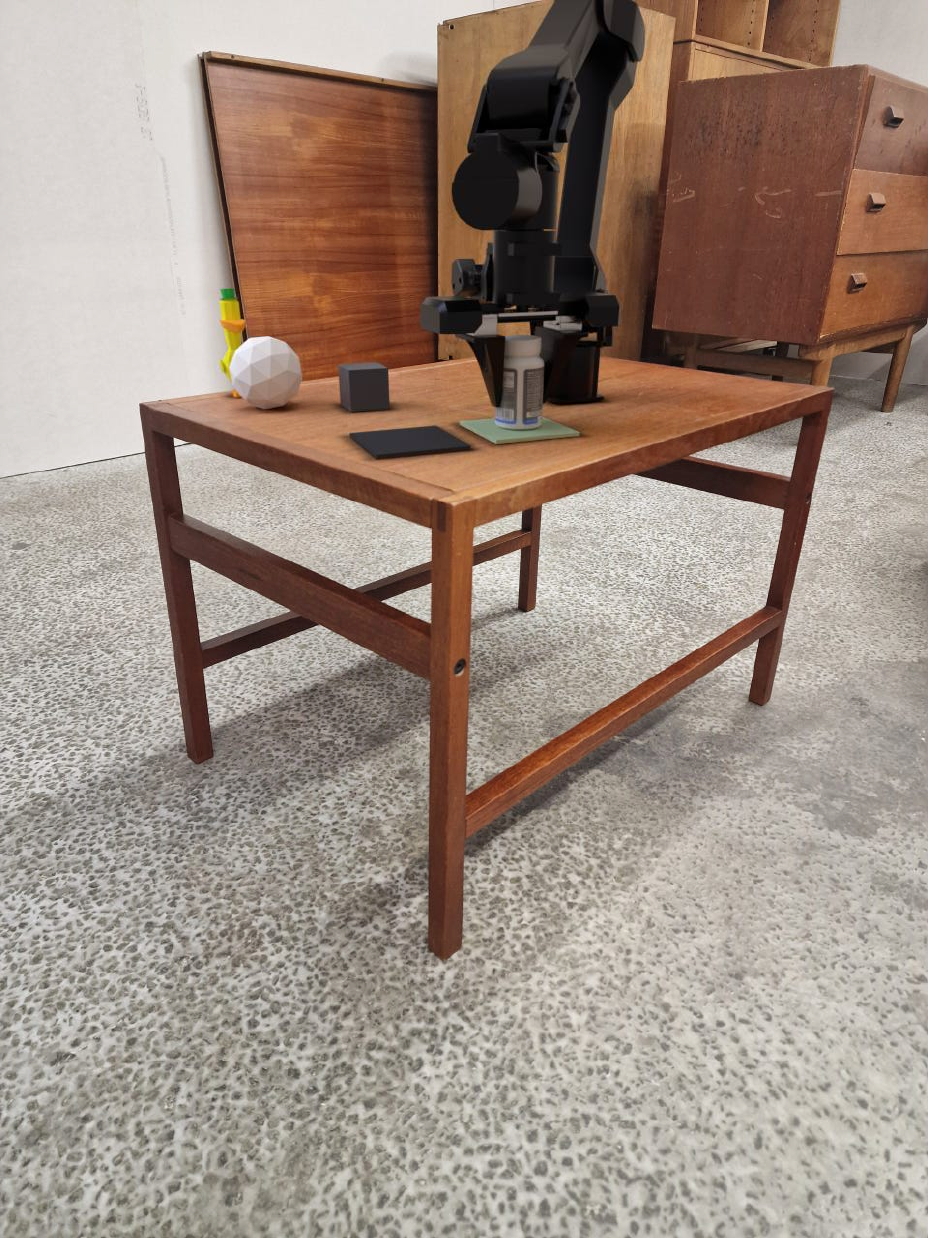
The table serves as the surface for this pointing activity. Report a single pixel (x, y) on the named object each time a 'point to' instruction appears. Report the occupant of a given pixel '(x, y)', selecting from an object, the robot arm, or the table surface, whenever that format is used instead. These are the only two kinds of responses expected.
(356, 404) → the slate block
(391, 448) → the charcoal mat
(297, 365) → the geometric ball
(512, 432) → the sage mat
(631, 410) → the table surface
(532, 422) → the pill bottle
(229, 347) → the toy figure
